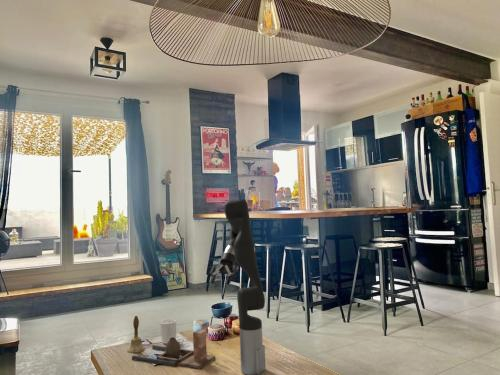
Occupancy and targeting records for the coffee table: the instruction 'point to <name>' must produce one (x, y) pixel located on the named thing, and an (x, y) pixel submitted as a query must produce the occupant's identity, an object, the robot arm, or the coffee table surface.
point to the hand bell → (136, 339)
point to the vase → (173, 348)
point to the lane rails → (152, 360)
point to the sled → (193, 353)
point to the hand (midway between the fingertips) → (219, 283)
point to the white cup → (168, 330)
